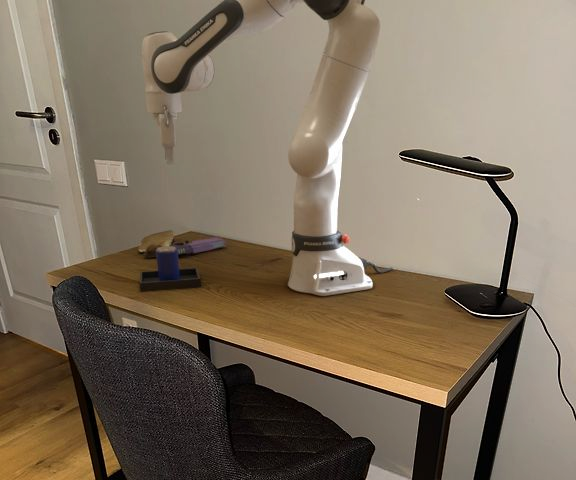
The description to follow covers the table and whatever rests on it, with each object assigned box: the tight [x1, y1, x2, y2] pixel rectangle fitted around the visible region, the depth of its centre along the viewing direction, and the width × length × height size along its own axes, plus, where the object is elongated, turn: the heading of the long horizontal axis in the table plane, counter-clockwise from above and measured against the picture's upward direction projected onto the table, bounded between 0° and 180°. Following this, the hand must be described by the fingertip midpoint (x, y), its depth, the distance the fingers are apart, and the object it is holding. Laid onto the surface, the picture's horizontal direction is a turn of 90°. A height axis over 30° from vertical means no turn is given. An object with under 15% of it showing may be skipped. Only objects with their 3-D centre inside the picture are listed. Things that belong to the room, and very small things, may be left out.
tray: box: [139, 267, 202, 292], centre depth 155 cm, size 16×10×2 cm, turn 103°
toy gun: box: [170, 236, 226, 256], centre depth 184 cm, size 4×20×10 cm
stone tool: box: [137, 229, 175, 259], centre depth 187 cm, size 12×4×25 cm
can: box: [155, 245, 180, 281], centre depth 154 cm, size 6×6×9 cm
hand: (169, 161), depth 156 cm, fingers open, 8 cm apart
